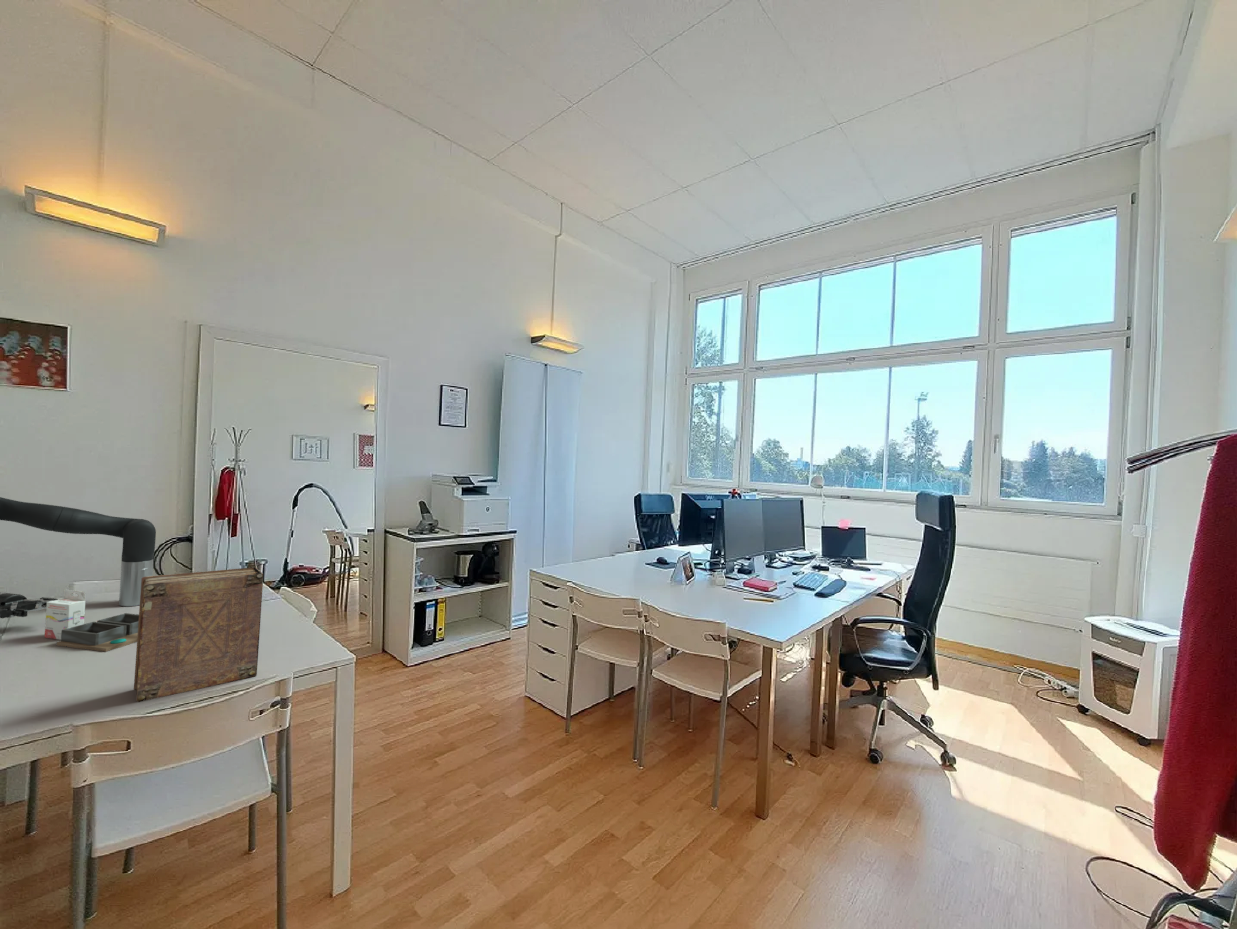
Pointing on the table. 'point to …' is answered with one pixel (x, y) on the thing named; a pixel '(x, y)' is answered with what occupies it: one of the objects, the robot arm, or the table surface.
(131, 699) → the table surface
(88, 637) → the socket board
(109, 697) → the table surface
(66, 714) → the table surface
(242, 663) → the book
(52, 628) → the ink cartridge box
